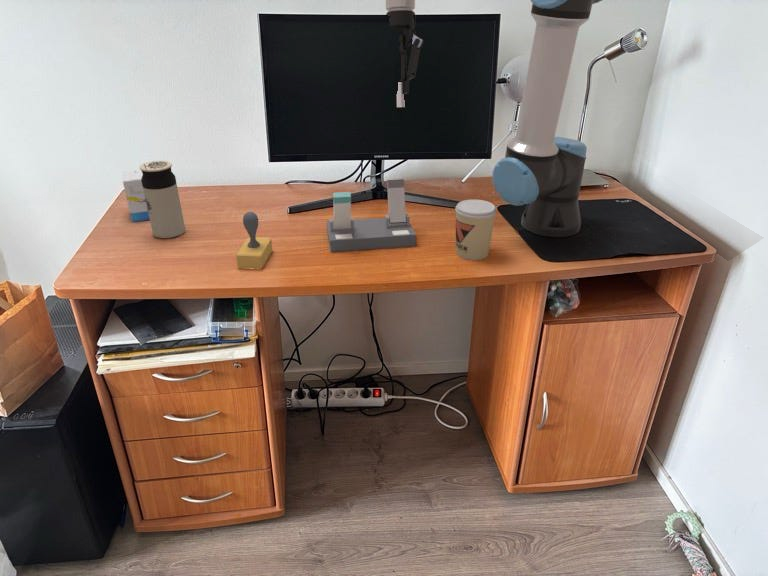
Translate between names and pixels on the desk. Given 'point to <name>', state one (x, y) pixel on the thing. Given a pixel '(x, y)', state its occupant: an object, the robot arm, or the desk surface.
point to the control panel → (370, 234)
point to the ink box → (135, 195)
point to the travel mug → (162, 199)
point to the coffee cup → (474, 228)
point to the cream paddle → (342, 209)
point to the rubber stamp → (253, 245)
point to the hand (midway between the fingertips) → (401, 106)
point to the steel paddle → (396, 201)
